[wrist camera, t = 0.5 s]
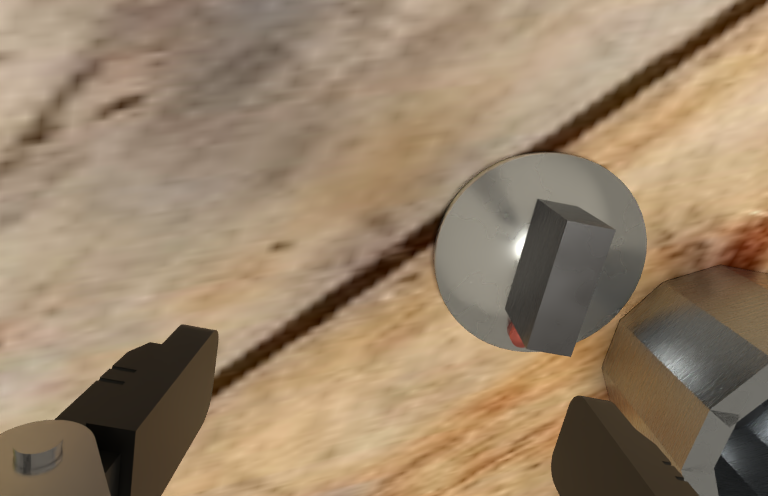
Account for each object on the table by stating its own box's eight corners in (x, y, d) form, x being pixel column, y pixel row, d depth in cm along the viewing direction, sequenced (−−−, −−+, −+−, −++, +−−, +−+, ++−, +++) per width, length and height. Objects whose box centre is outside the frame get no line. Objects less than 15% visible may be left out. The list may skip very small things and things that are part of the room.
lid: (459, 131, 27) (479, 143, 22) (667, 173, 28) (738, 194, 22) (414, 324, 31) (420, 377, 26) (598, 356, 32) (644, 415, 26)
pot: (646, 250, 29) (753, 317, 21) (845, 288, 30) (1028, 368, 21) (579, 426, 33) (646, 543, 25) (756, 455, 34) (880, 579, 26)
